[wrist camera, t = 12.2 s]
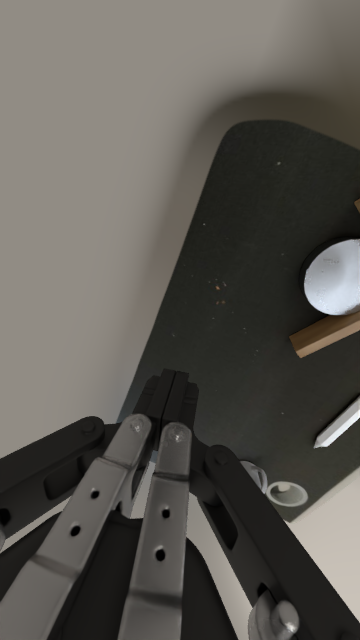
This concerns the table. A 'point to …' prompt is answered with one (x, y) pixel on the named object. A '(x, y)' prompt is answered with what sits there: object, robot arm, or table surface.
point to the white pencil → (339, 424)
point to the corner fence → (325, 329)
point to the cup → (256, 474)
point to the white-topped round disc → (333, 276)
